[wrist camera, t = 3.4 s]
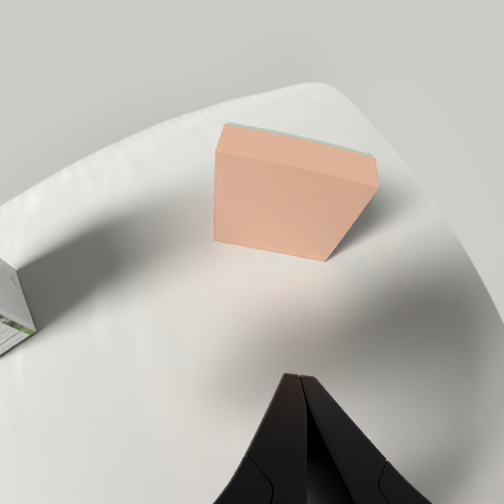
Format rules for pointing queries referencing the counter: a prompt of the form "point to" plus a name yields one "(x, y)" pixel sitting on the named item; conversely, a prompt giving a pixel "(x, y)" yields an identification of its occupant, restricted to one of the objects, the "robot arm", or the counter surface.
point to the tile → (288, 191)
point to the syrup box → (12, 310)
